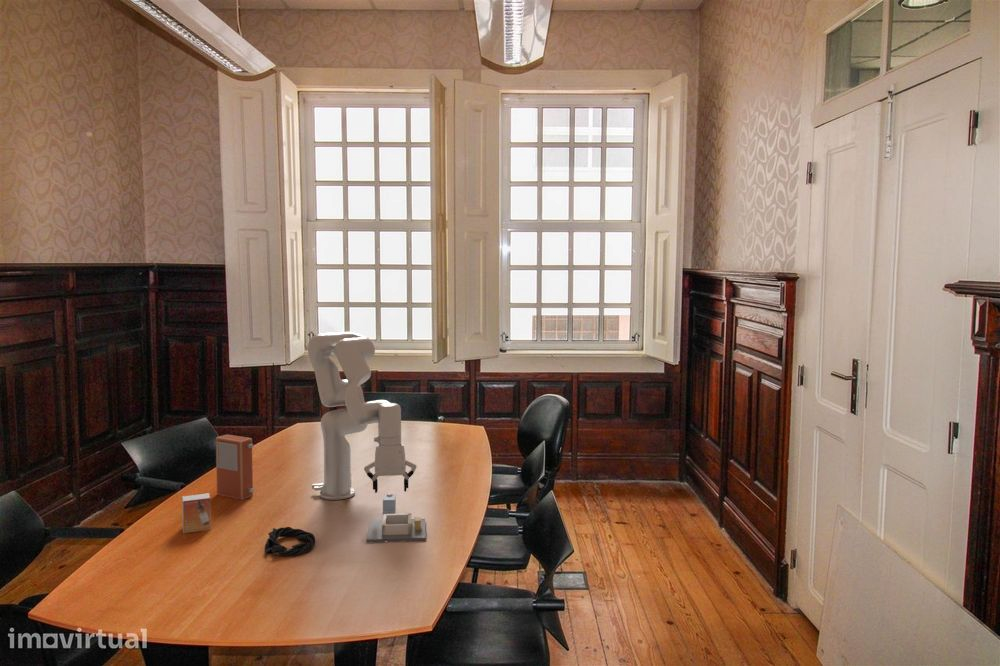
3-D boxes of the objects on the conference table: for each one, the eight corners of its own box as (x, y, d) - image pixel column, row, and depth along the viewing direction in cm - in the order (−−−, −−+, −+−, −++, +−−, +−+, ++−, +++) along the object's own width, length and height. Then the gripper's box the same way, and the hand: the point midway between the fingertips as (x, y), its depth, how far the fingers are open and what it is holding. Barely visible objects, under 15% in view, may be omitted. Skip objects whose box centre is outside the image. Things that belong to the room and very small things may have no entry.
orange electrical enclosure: (227, 489, 247) (257, 495, 240) (212, 494, 240) (242, 501, 234) (226, 433, 245) (256, 438, 239) (210, 437, 239) (241, 442, 232)
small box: (183, 534, 204) (182, 501, 203) (182, 528, 209) (181, 495, 208) (211, 530, 208) (210, 497, 207) (209, 524, 213) (209, 492, 212)
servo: (382, 522, 217) (382, 501, 216) (384, 512, 226) (384, 491, 226) (394, 522, 217) (394, 500, 216) (395, 511, 227) (395, 490, 226)
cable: (273, 535, 205) (272, 522, 205) (319, 534, 207) (319, 520, 207) (261, 559, 188) (261, 544, 188) (311, 557, 190) (311, 542, 190)
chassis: (366, 542, 200) (366, 529, 200) (370, 523, 216) (370, 511, 216) (425, 540, 202) (425, 528, 202) (425, 521, 218) (425, 509, 218)
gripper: (362, 444, 215) (363, 495, 216) (416, 442, 217) (416, 493, 218) (364, 438, 222) (365, 488, 223) (416, 437, 224) (416, 486, 225)
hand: (390, 490), depth 220 cm, fingers open, 9 cm apart
